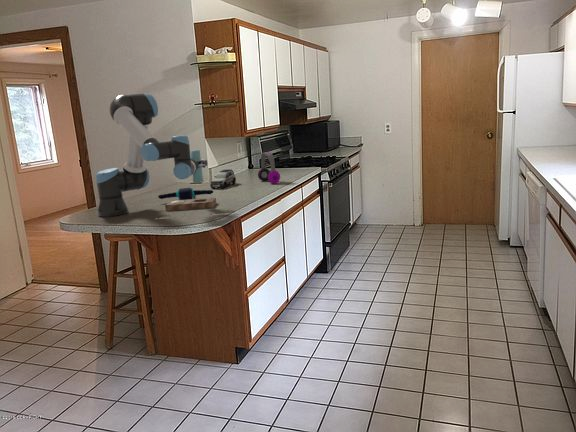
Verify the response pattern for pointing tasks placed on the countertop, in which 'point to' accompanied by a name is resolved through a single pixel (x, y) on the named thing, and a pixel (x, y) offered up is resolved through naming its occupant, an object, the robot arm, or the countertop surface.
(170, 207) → the pocket block
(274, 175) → the headphones
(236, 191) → the countertop surface
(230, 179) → the toy car
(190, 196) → the toy
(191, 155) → the peg
